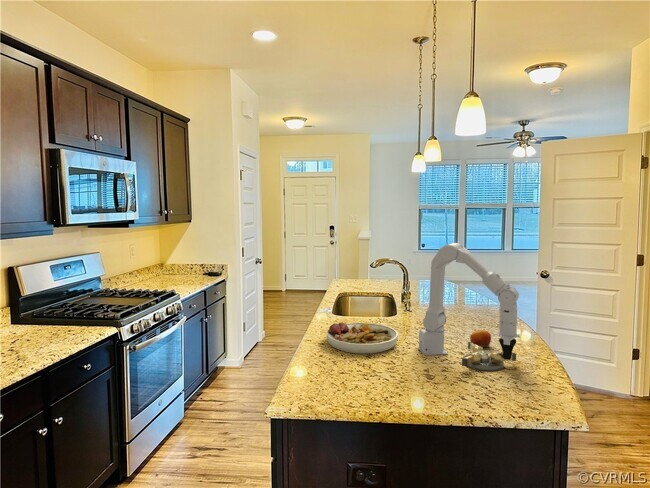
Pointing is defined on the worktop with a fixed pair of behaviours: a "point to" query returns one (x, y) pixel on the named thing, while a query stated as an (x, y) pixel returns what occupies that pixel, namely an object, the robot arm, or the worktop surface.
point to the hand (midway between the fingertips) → (507, 359)
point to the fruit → (481, 338)
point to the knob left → (472, 359)
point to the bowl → (361, 337)
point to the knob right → (501, 357)
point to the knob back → (474, 347)
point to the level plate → (486, 363)
